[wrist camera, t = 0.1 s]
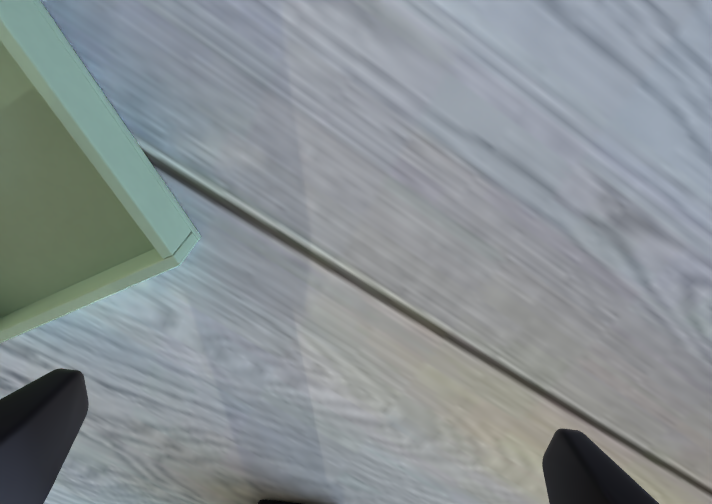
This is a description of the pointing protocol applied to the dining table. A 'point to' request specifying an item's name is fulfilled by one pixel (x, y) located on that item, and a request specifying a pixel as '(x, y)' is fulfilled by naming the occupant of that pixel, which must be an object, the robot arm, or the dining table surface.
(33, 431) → the robot arm
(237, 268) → the dining table surface
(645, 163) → the dining table surface
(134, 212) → the wash tray
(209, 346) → the dining table surface
